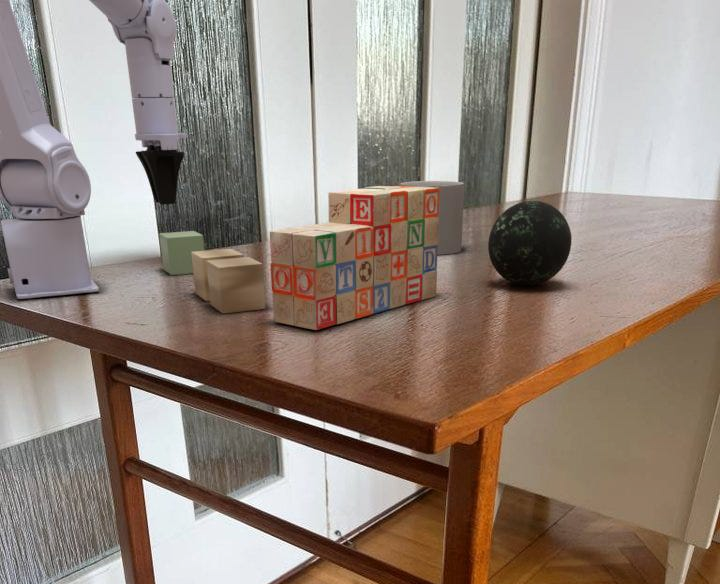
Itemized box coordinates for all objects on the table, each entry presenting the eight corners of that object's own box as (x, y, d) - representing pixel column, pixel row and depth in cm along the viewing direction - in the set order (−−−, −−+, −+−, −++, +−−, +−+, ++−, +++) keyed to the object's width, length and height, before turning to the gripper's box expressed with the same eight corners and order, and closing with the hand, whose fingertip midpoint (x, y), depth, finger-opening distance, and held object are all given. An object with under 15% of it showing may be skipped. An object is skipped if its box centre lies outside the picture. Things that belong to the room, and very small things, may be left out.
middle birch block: (206, 301, 89) (201, 257, 86) (195, 293, 93) (191, 251, 90) (246, 297, 90) (243, 254, 88) (234, 289, 95) (231, 248, 92)
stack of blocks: (317, 332, 75) (312, 201, 70) (272, 323, 79) (264, 198, 73) (437, 295, 90) (441, 185, 85) (395, 289, 94) (396, 183, 88)
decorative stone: (518, 296, 89) (525, 207, 85) (470, 282, 97) (474, 199, 93) (583, 288, 93) (594, 202, 89) (532, 274, 101) (539, 195, 97)
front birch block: (222, 313, 83) (218, 267, 81) (210, 304, 87) (206, 260, 85) (265, 309, 85) (262, 263, 83) (251, 300, 89) (248, 256, 87)
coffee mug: (442, 257, 115) (445, 186, 110) (387, 251, 120) (387, 184, 115) (481, 245, 125) (484, 180, 120) (428, 241, 130) (430, 178, 125)
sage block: (171, 275, 104) (166, 237, 102) (163, 269, 108) (158, 233, 106) (206, 272, 106) (203, 235, 103) (197, 266, 110) (194, 230, 108)
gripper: (195, 97, 99) (205, 206, 105) (170, 99, 111) (181, 197, 117) (140, 97, 97) (154, 208, 102) (121, 99, 108) (134, 199, 114)
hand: (165, 203), depth 110 cm, fingers closed
